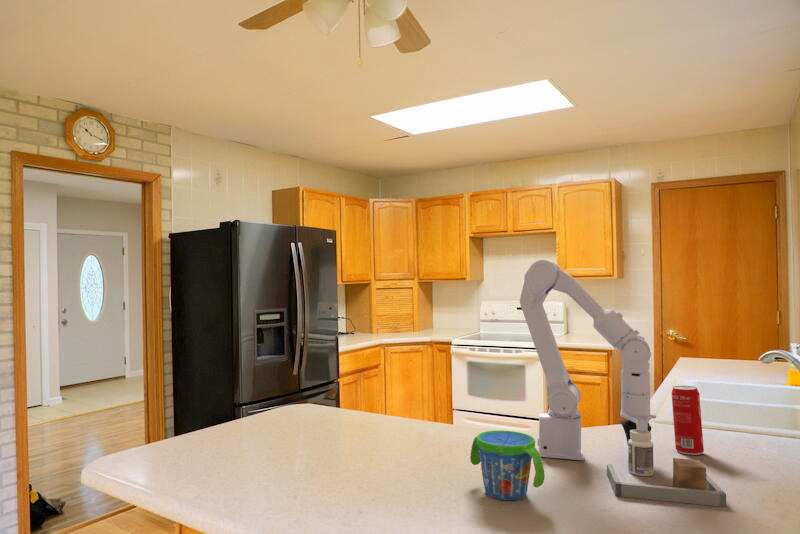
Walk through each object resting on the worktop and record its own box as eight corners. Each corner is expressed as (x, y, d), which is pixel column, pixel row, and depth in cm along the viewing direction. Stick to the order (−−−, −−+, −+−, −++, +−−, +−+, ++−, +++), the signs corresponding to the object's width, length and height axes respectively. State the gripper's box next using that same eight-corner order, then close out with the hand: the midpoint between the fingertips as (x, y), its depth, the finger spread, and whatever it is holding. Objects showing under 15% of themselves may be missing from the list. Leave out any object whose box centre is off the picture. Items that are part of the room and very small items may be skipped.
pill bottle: (658, 474, 108) (658, 432, 109) (645, 478, 106) (645, 435, 106) (636, 467, 112) (636, 427, 113) (623, 471, 110) (623, 430, 110)
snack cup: (455, 485, 101) (456, 430, 101) (497, 475, 106) (497, 424, 106) (514, 516, 87) (514, 453, 88) (558, 503, 93) (558, 444, 93)
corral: (615, 495, 97) (615, 483, 97) (606, 475, 107) (606, 464, 107) (726, 507, 92) (726, 494, 92) (705, 484, 103) (705, 472, 103)
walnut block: (678, 496, 97) (678, 465, 97) (673, 487, 101) (673, 458, 102) (706, 499, 96) (706, 468, 96) (699, 489, 100) (699, 460, 100)
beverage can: (707, 457, 120) (707, 390, 120) (676, 454, 121) (676, 388, 122) (698, 449, 126) (698, 385, 126) (668, 447, 127) (668, 383, 127)
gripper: (664, 400, 107) (664, 469, 106) (648, 387, 121) (648, 447, 120) (626, 398, 109) (626, 465, 108) (615, 385, 123) (615, 445, 122)
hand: (635, 456), depth 114 cm, fingers closed
